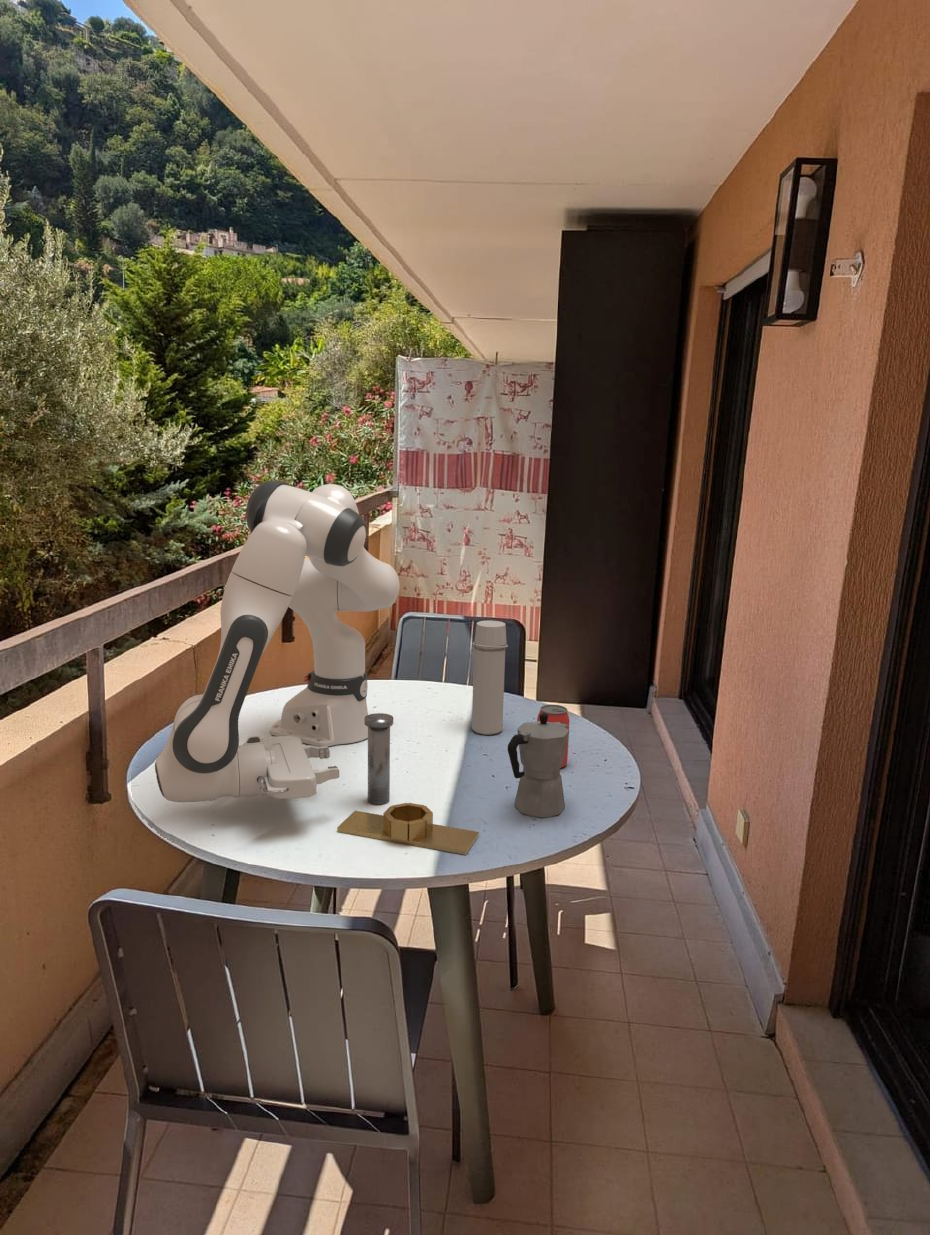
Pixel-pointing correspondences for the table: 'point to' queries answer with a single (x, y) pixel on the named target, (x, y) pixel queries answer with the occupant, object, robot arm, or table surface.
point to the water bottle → (488, 677)
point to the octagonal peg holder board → (409, 828)
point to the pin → (378, 757)
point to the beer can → (557, 720)
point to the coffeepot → (539, 766)
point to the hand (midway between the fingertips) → (333, 761)
